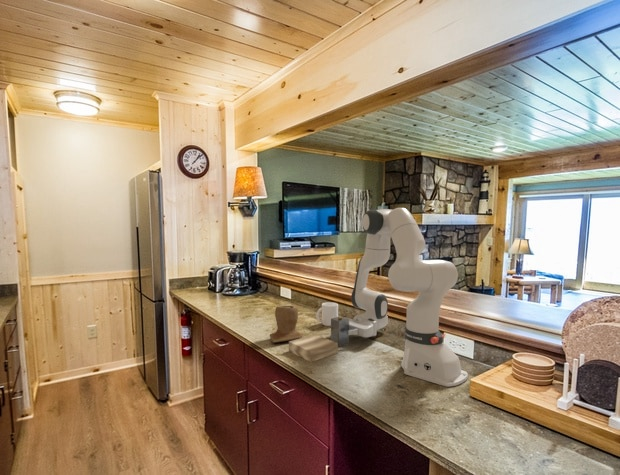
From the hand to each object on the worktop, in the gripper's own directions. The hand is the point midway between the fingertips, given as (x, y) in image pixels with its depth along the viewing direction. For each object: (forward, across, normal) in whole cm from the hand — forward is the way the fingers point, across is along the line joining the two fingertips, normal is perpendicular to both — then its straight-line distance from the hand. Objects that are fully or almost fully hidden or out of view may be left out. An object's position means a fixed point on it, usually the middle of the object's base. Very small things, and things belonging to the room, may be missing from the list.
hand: (339, 330), depth 150 cm
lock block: (0, 0, +6) cm, 6 cm away
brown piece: (+15, -20, +6) cm, 26 cm away
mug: (-14, -24, +6) cm, 29 cm away
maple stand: (+15, 0, +6) cm, 16 cm away
